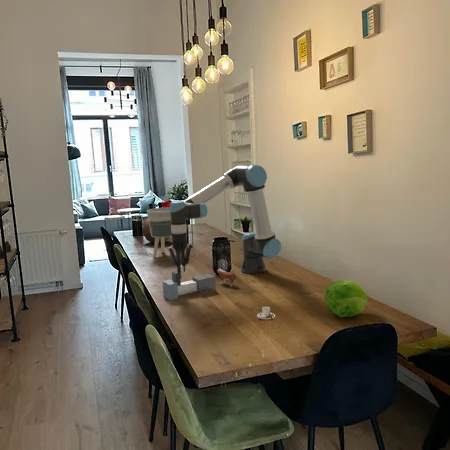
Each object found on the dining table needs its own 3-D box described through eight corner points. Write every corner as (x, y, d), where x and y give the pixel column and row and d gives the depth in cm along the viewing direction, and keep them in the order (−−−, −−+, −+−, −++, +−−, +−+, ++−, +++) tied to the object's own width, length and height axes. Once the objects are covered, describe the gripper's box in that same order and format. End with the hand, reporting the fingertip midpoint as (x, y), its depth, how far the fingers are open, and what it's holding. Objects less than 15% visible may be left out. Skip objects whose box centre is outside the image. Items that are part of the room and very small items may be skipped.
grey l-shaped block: (196, 287, 230) (195, 267, 229) (201, 289, 227) (199, 269, 225) (167, 294, 222) (165, 273, 220) (170, 296, 218) (169, 274, 216)
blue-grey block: (171, 294, 225) (170, 279, 224) (178, 298, 218) (177, 283, 217) (163, 296, 223) (162, 281, 222) (170, 300, 216) (169, 284, 215)
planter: (185, 255, 314) (183, 209, 308) (158, 260, 302) (154, 212, 296) (171, 250, 331) (168, 206, 326) (145, 255, 319) (141, 209, 314)
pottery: (144, 241, 372) (142, 211, 368) (172, 239, 375) (170, 210, 371) (142, 246, 350) (140, 215, 346) (171, 244, 352) (169, 213, 348)
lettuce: (376, 321, 185) (383, 287, 182) (338, 326, 177) (344, 290, 174) (350, 305, 200) (356, 274, 197) (314, 309, 192) (319, 276, 188)
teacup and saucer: (260, 321, 185) (260, 312, 185) (252, 315, 193) (251, 306, 192) (278, 318, 189) (278, 308, 188) (269, 312, 196) (269, 303, 195)
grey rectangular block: (209, 286, 236) (208, 273, 235) (216, 290, 230) (215, 276, 229) (192, 290, 231) (192, 276, 230) (199, 293, 225) (198, 279, 224)
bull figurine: (220, 281, 246) (219, 267, 244) (237, 285, 236) (237, 270, 235) (214, 282, 243) (213, 268, 241) (231, 287, 233) (231, 272, 232)
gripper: (187, 229, 225) (189, 274, 229) (163, 233, 219) (166, 278, 222) (194, 231, 219) (196, 277, 223) (170, 235, 212) (173, 282, 216)
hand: (181, 278), depth 223 cm, fingers closed
